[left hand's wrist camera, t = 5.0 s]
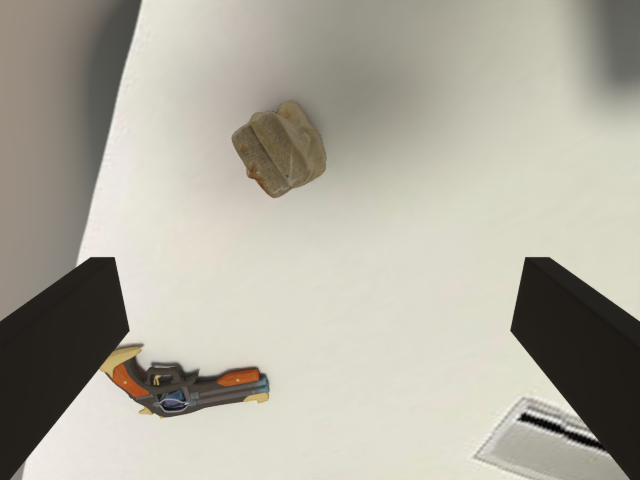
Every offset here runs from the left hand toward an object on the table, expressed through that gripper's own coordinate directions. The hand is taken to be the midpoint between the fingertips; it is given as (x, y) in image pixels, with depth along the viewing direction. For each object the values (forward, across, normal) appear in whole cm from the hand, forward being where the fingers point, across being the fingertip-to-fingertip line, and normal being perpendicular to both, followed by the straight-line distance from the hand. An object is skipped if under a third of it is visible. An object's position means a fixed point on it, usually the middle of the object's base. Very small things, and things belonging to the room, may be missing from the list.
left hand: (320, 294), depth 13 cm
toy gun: (+28, -16, -26) cm, 41 cm away
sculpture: (+28, -2, +2) cm, 28 cm away
